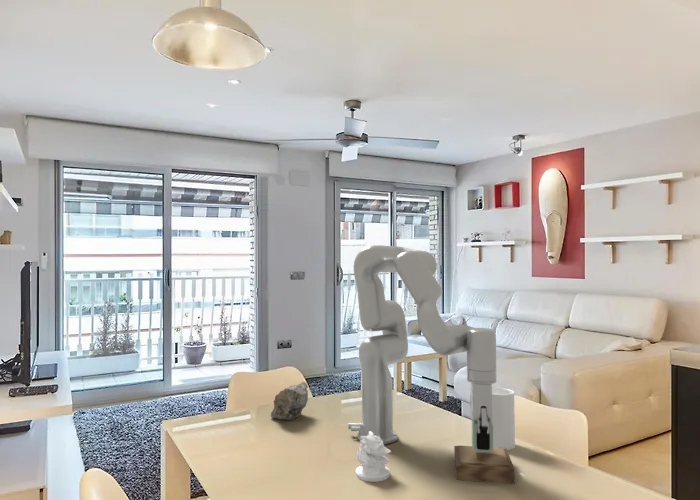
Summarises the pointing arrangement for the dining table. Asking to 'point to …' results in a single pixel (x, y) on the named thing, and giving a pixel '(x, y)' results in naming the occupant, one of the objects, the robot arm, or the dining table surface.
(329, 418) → the dining table surface
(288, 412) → the rock
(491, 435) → the block
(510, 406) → the cup
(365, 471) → the figurine
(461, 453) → the plinth
